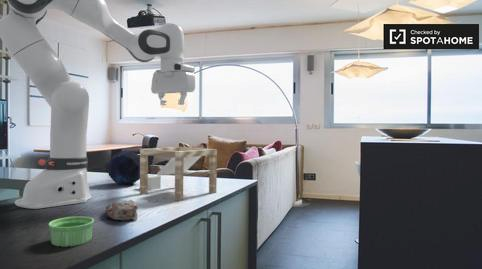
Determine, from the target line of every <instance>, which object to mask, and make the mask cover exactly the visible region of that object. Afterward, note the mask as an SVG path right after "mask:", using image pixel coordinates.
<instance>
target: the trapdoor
mask: <svg viewBox="0 0 482 269" xmlns="http://www.w3.org/2000/svg"><path fill="white" fill-rule="evenodd" d="M192 151H193V150H192ZM200 158H202V156H196V157H185V158H184V169H183V173H186V172H187V171H188V170H189V169H190V168H191V167H192V166H193V165H194V164H196V162H197V161H198V160H200ZM169 175H175V158H173V157H171V158H170V160H169V161H168V162H167V163H166V164H165V165H164V166H163V167H162V168H161V169H160V170H158V172H157V173H156V176H169Z"/></svg>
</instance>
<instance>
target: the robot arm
mask: <svg viewBox="0 0 482 269" xmlns="http://www.w3.org/2000/svg"><path fill="white" fill-rule="evenodd" d="M7 4H8V7H9V12H8V13H7V14H6V15H4V16H2V17H1V18H0V39H1V41H2V43H3V45H4V46H5V48H6V49H7V51H8V52H9V54H10V55H11V56H12V58H13V59H14V61H15V62H16V63H17V64H18V65H19V67H20V68H21V69H22V70H23V71H24V73H25V75H26V76H27V77H28V78H29V79H30V80H31V82H32V83H33V85H34V86H35V88H36V90H38V92H39V93H40V95H41V96H42V98H44V101H45V102H46V103H47V104H48V105H49V107H50V128H49V129H50V133H49V157H48V158H47V159H43V158H41V159H39V160H38V161H37V164H38V165H39V166H44V169H43V170H42V171H41V172H40V173H38V174H37V175H35V176H34V177H33V178H31V179H30V180H29V181H28V182H26V184H25V186H24V188H23V194H22V198H19V199H16V200H14V205H15V206H17V207H19V208H25V209H33V210H34V209H35V210H36V209H38V210H39V209H43V208H46V209H47V208H52V207H61V206H65V205H66V206H68V205H73V204H75V205H76V204H81V203H87V202H88V200H90V199H92V194H91V190H90V187H89V181H88V169H89V166H88V165H89V163H88V162H89V161H88V160H89V159H88V158H89V157H88V156H87V134H88V133H87V132H88V122H89V109H90V108H89V107H90V96H89V92H88V91H87V89H86V88H85V87H84V85H82V84H80V83H78V82H75V81H74V80H73V79H72V77H71V75H70V74H69V72H68V71H67V69H66V67H65V66H64V64H63V62H62V60H61V59H60V57H59V56H58V55H57V53H56V52H55V51H54V49H53V48H52V47H51V45H50V43H49V42H48V41H47V39H46V38H45V37H44V36H43V35H42V33H41V32H40V30H39V28H38V26H37V25H38V24H39V22H41V21H42V20H43V19H44V18H45V16H46V15H47V12H48V11H47V10H49V9H55V10H59V11H62V12H64V13H65V14H66V15H68V16H70V17H72V18H73V19H76V21H79V22H81V23H83V24H85V25H86V26H88V27H90V28H93V29H94V30H96V31H98V32H100V33H102V34H103V35H104V36H106V37H108V38H109V39H111V40H112V41H114V42H115V43H117V44H119V45H120V46H122V47H124V49H125V50H127V51H128V52H129V54H130V55H131V56H132V57H133V59H135V60H136V61H138V62H140V63H149V62H151V61H152V60H153V59H155V57H159V58H160V69H156V70H155V72H154V73H153V74H152V78H151V85H150V86H151V87H150V90H151V93H152V94H156V95H157V96H158V98H159V100H160V106H167V100H166V99H165V96H166V94H178V93H179V95H180V97H179V99H178V100H177V104H178V105H179V106H181V105H182V106H184V105H185V99H186V98H187V96H188V93H194V92H195V89H196V75H195V74H194V73H195V67H194V66H192V65H189V64H186V63H185V57H184V52H185V35H184V30H183V28H182V27H181V26H179V25H178V24H174V23H164V24H162V25H160V26H158V27H155V28H151V29H150V28H149V29H148V28H147V29H145V30H143V31H141V32H140V33H139V34H137V33H134V32H132V31H131V30H129V29H127V28H126V27H125V26H123V25H122V24H120V23H119V22H117V21H116V20H115V19H114V18H113V17H112V15H111V13H110V11H109V8H108V5H107V3H106V0H7Z"/></svg>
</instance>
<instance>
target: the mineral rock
mask: <svg viewBox="0 0 482 269" xmlns="http://www.w3.org/2000/svg"><path fill="white" fill-rule="evenodd" d="M138 209H139V206H137V204H136V202H135V201H134V200H133V199H129V200H120V201H117V200H116V201H113V202H111V203H109V205H106V207H105V209H104V211H105V214H106V217H108V218H110V219H112V220H114V221H129V220H133V221H135V222H136V221H137V220H138V212H137V211H138Z"/></svg>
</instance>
